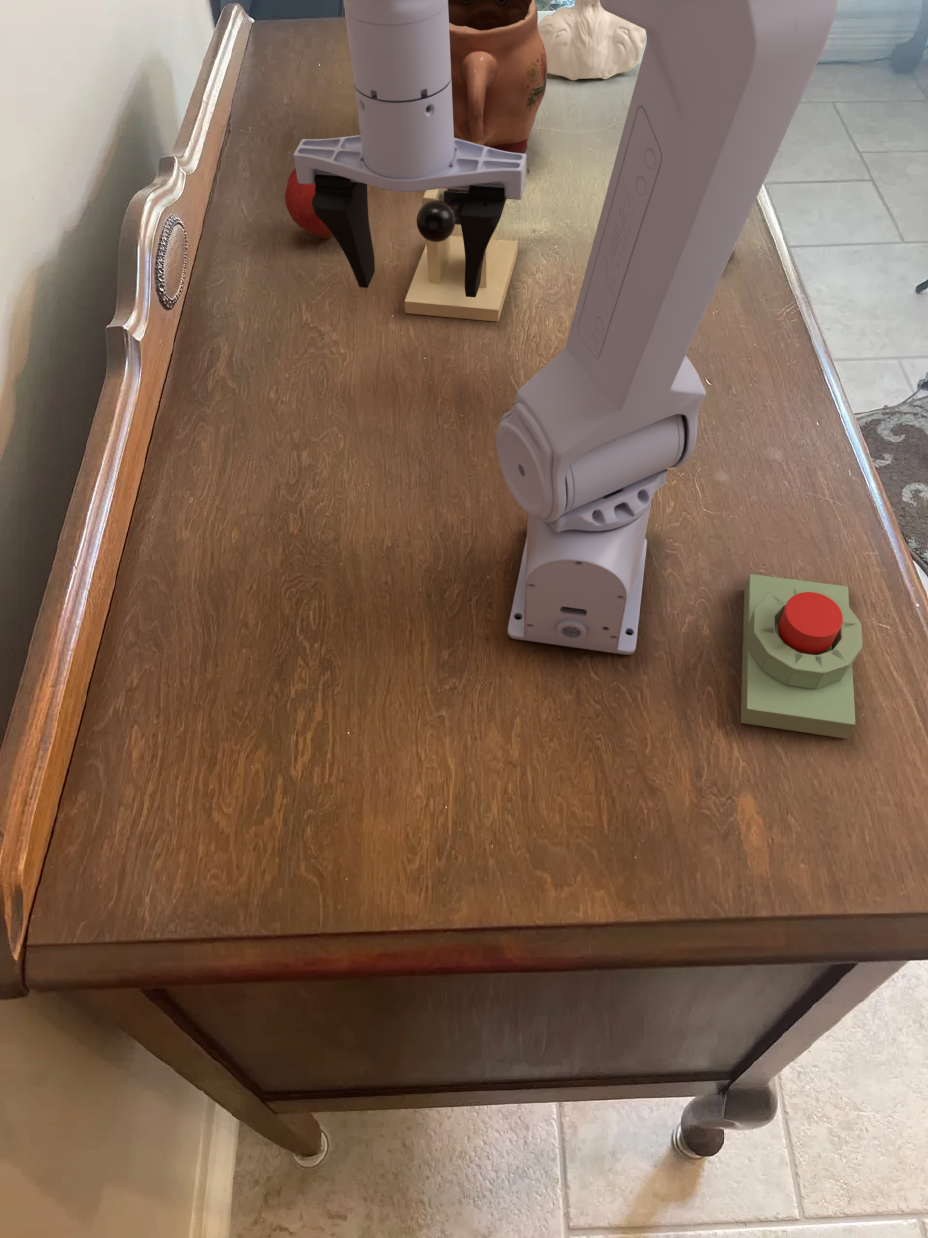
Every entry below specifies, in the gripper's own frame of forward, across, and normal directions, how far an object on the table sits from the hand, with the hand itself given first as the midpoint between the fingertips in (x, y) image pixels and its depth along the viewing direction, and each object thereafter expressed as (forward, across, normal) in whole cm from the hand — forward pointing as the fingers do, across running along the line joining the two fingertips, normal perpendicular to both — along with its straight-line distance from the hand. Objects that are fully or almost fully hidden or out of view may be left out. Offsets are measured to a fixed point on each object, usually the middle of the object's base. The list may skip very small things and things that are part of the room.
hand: (419, 283), depth 65 cm
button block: (+9, -28, +21) cm, 36 cm away
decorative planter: (+10, +2, -34) cm, 35 cm away
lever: (+2, 0, -9) cm, 9 cm away
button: (+6, -27, +21) cm, 35 cm away
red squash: (+10, +14, -19) cm, 25 cm away
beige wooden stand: (+9, 0, -14) cm, 17 cm away
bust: (+10, -6, -55) cm, 56 cm away
